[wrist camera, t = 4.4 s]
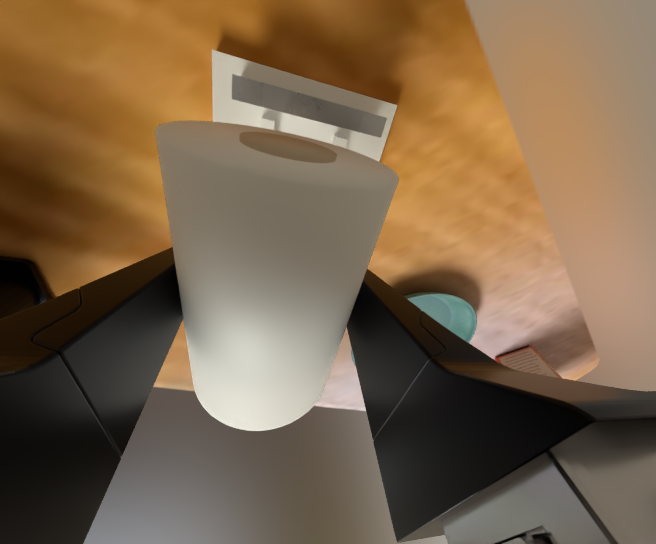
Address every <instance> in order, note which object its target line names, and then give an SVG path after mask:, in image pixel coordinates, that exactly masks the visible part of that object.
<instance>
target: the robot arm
mask: <svg viewBox="0 0 656 544" xmlns="http://www.w3.org/2000/svg"><path fill="white" fill-rule="evenodd" d="M182 320H183V313H182V306H181V299H180V293H179V286H178V280H177V273H176V266H175V260H174V253H173V247H171V248H169V249H167V250H165V251H162V252H160V253H158V254H155V255H153V256H151V257H148V258H146V259H144V260H141V261H139V262H137V263H135V264H132V265H130V266H128V267H125V268H123V269H121V270H118V271H116V272H114V273H111V274H109V275H107V276H105V277H102V278H100V279H98V280H95V281H93V282H91V283H88V284H86V285H84V286H81V287H80V290H79V289H74V290H72V291H70V292H67V293H65V294H63V295H61V296H58V297H56V298H53V299H51V298H50V296H49V294H48V292H47V289H46V287H45V285H44V283H43V281H42V279H41V277H40V275H39V273H38V271H37V269H36V267H35V265H34V264H33V263H32V262H31V261H29V260H27V259H20V258H10V257H0V544H83V543H84V541H85V538H86V536H87V534H88V532H89V529H90V527H91V525H92V522H93V520H94V518H95V516H96V513H97V511H98V509H99V507H100V505H101V502H102V500H103V498H104V496H105V493H106V491H107V489H108V487H109V484H110V482H111V480H112V478H113V475H114V473H115V471H116V469H117V466H118V464H119V462H120V460H121V456H122V455H123V453H124V450H125V448H126V446H127V444H128V441H129V439H130V437H131V435H132V432H133V430H134V428H135V425H136V423H137V421H138V419H139V416H140V414H141V412H142V410H143V408H144V405H145V403H146V401H147V399H148V396H149V394H150V392H151V389H152V387H153V385H154V383H155V381H156V378H157V376H158V374H159V372H160V370H161V367H162V365H163V363H164V361H165V358H166V356H167V354H168V352H169V349H170V347H171V345H172V343H173V340H174V338H175V336H176V334H177V331H178V329H179V327H180V325H181V322H182ZM347 330H348V334H349V338H350V343H351V347H352V351H353V356H354V360H355V364H356V368H357V373H358V377H359V381H360V386H361V390H362V394H363V399H364V403H365V407H366V411H367V416H368V420H369V424H370V428H371V433H372V437H373V440H374V447H375V450H376V455H377V459H378V464H379V468H380V472H381V477H382V481H383V485H384V489H385V494H386V498H387V503H388V507H389V511H390V515H391V520H392V524H393V528H394V532H395V536H396V540H397V542H405V541H411V540H417V539H423V538H428V537H434V536H440V535H445V536H446V539H447V542H448V544H656V391H650V392H649V391H648V392H645V391H634V390H627V389H620V388H614V387H607V386H601V385H596V384H590V383H585V382H579V381H573V380H568V379H562V378H556V377H551V376H545V375H539V374H534V373H528V372H523V371H518V370H515V369H512V368H509V367H507V366H505V365H503V364H500V363H498V362H497V361H495V360H494V359H492V358H490V357H489V356H487V355H486V354H484V353H483V352H481V351H480V350H478V349H477V348H475V347H474V346H472V345H471V344H469V343H468V342H466V341H465V340H463V339H462V338H460V337H459V336H457V335H456V334H454V333H453V332H451V331H450V330H449V329H447V328H446V327H444V326H443V325H441V324H440V323H439V322H437V321H436V320H434V319H433V318H432V317H430V316H429V315H428V314H426V313H425V312H424V311H421V309H420V308H418V307H417V306H416V305H415V304H413V303H412V302H411V301H409V300H408V299H407V298H405V297H404V296H403V295H401V294H400V293H399V292H397V291H396V290H395V289H393V288H392V287H391V286H389V285H388V284H387V283H385V282H384V281H383V280H382V279H380V278H379V277H378V276H376V275H375V274H374V273H372V272H371V271H370V270H368V269H367V270H366V273H365V276H364V279H363V281H362V284H361V287H360V290H359V293H358V295H357V298H356V301H355V304H354V307H353V309H352V312H351V315H350V318H349V321H348V323H347Z"/></svg>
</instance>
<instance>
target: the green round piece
mask: <svg viewBox="0 0 656 544" xmlns="http://www.w3.org/2000/svg"><path fill="white" fill-rule="evenodd" d="M404 297H405V298H407V299H408V300H409V301H411V302H412V303H413V304H415V305H416V306H417V307H418V308H420V309H421V311H424V312H425V313H426V314H428V315H429V316H430V317H432V318H433V319H434V320H436V321H437V322H439V323H440V324H441V325H443V326H444V327H446V328H447V329H449V330H450V331H451V332H453V333H454V334H456V335H457V336H459V337H460V338H462V339H463V340H465V341H466V342H468V343H469V342H470V340H471V339H472V337H473V335H474V333H475V330H476V325H477V316H476V313H475V310H474V309H473V307H472V306H471V305H470V304H469V303H468V302H467V301H465V300H464V299H462V298H460V297H457V296H454V295H450V294H446V293H439V292H421V293H414V294H409V295H405V296H404ZM351 354H352V360H353V363H354V365H355V366H356V364H355V360H354V356H353V351H352V352H351Z"/></svg>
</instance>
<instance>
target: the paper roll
mask: <svg viewBox="0 0 656 544" xmlns="http://www.w3.org/2000/svg"><path fill="white" fill-rule="evenodd" d="M155 133H156V140H157V147H158V153H159V160H160V167H161V173H162V180H163V187H164V193H165V200H166V207H167V213H168V220H169V226H170V233H171V240H172V246H173V253H174V260H175V266H176V273H177V280H178V286H179V293H180V299H181V306H182V313H183V319H184V326H185V333H186V339H187V346H188V353H189V359H190V366H191V373H192V379H193V385H194V389H195V393H196V395H197V397H198V399H199V401H200V403H201V404H202V406H203V407H204V409H205V410H207V412H208V413H209V414H210V415H211V416H213V417H214V418H216V419H217V420H218V421H220V422H222V423H224V424H226V425H228V426H231V427H234V428H237V429H242V430H249V431H262V430H270V429H275V428H279V427H282V426H284V425H287V424H290V423H292V422H293V421H295V420H297V419H299V418H300V417H301V416H303V415H304V414H305V413H307V412H308V411H309V410H310V409H311V408H312V407H313V406H314V405H315V403H316V402H317V401H318V399H319V398H320V396H321V394H322V392H323V390H324V387H325V385H326V382H327V379H328V376H329V374H330V371H331V368H332V365H333V362H334V360H335V357H336V354H337V351H338V349H339V346H340V343H341V340H342V337H343V335H344V332H345V329H346V326H347V323H348V321H349V318H350V315H351V312H352V309H353V307H354V304H355V301H356V298H357V295H358V293H359V290H360V287H361V284H362V281H363V279H364V276H365V273H366V270H367V267H368V265H369V262H370V259H371V256H372V254H373V251H374V248H375V245H376V242H377V240H378V237H379V234H380V231H381V228H382V226H383V223H384V220H385V217H386V214H387V212H388V209H389V206H390V203H391V200H392V198H393V195H394V192H395V189H396V186H397V184H398V181H399V177H398V175H397V174H396V173H395V172H394V171H393V170H392V169H390V168H389V167H387V166H386V165H384V164H382V163H380V162H378V161H376V160H374V159H372V158H370V157H367V156H365V155H362V154H360V153H357V152H354V151H352V150H349V149H346V148H343V147H340V146H336V145H333V144H330V143H326V142H323V141H319V140H315V139H312V138H308V137H303V136H299V135H295V134H291V133H286V132H281V131H276V130H271V129H266V128H260V127H254V126H247V125H240V124H232V123H223V122H212V121H175V122H168V123H164V124H161V125H159V126H158V127H157V128H156V130H155Z"/></svg>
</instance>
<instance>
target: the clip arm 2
mask: <svg viewBox="0 0 656 544" xmlns="http://www.w3.org/2000/svg"><path fill="white" fill-rule="evenodd" d="M232 99H233V100H237V101H241V102H245V103H249V104H252V105H256V106H260V107H264V108H268V109H272V110H276V111H279V112H283V113H287V114H291V115H295V116H299V117H302V118H306V119H310V120H314V121H318V122H322V123H326V124H329V125H333V126H337V127H341V128H345V129H349V130H352V131H356V132H360V133H364V134H368V135H372V136H376V137H379V138H381V136H382V133H383V130H384V127H385V123H386V120H387V118H386V117H383V116H379V115H376V114H372V113H369V112H365V111H361V110H358V109H354V108H351V107H347V106H344V105H340V104H337V103H333V102H330V101H326V100H323V99H319V98H316V97H312V96H309V95H305V94H301V93H298V92H294V91H291V90H287V89H284V88H280V87H277V86H273V85H270V84H266V83H263V82H259V81H256V80H252V79H249V78H245V77H241V76H238V75H234V74H232Z"/></svg>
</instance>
